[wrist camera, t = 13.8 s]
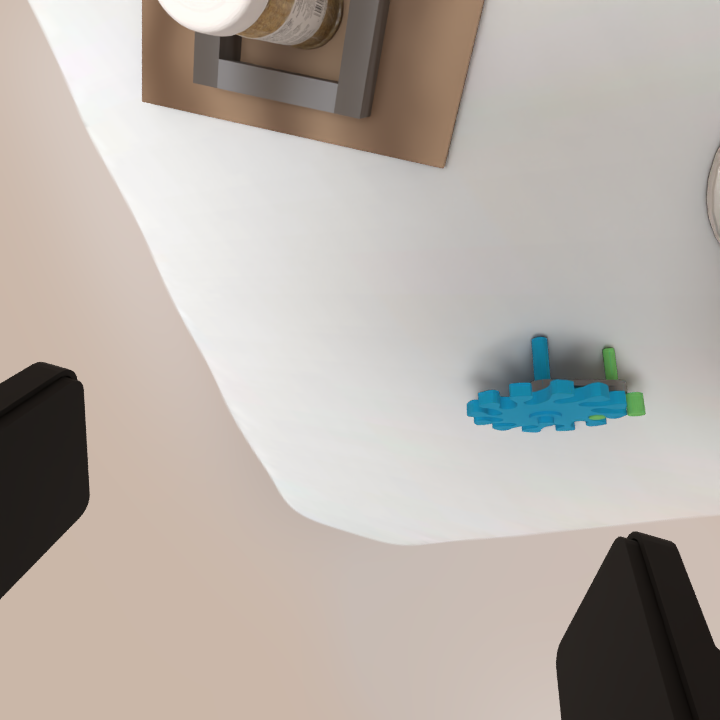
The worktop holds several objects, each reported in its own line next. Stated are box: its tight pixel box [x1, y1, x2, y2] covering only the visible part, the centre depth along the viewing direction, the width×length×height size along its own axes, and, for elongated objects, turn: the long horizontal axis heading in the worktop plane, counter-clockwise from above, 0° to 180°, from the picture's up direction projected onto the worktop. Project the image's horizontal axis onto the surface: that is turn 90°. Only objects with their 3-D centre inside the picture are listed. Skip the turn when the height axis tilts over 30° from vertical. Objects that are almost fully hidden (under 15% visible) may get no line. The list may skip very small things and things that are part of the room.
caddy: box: [142, 0, 484, 168], centre depth 32 cm, size 20×14×4 cm
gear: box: [467, 337, 646, 432], centre depth 38 cm, size 11×6×10 cm
